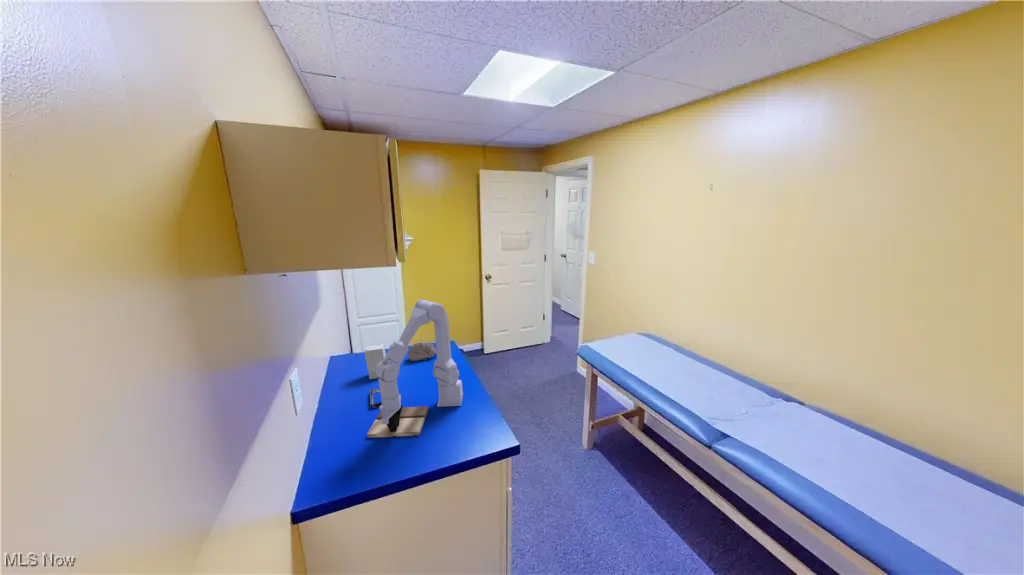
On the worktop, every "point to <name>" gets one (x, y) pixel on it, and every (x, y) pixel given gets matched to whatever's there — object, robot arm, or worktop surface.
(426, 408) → the walnut strip
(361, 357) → the worktop surface
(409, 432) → the maple plank
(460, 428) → the worktop surface
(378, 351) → the skincare box
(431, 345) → the pumice stone
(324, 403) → the worktop surface
